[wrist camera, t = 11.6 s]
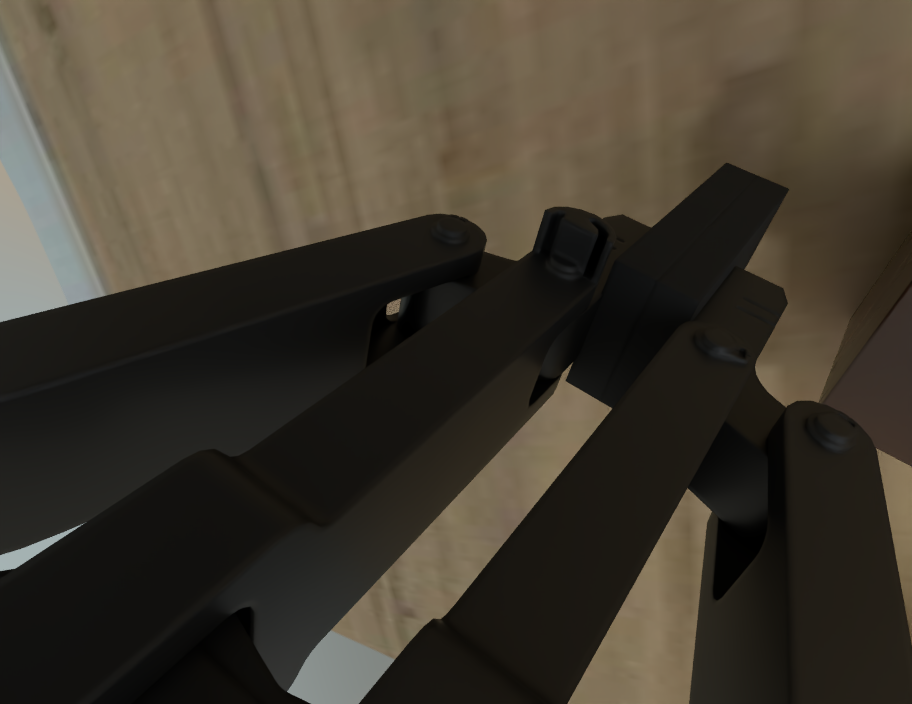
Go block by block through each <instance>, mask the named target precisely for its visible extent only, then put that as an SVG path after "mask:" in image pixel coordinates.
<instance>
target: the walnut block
mask: <svg viewBox="0 0 912 704" xmlns="http://www.w3.org/2000/svg"><path fill="white" fill-rule="evenodd" d="M818 403H821V404H825V405H828V406H830V407H832V408H834V409H836V410H839V411H841V412H843V413H845V414H846V415H848V416H849V417H850V418H852V419H853V420H854V421H856V422H857V423H858V424H859V425H860V426H861V427H862V428H863V429H864V431H865V432H866V433H867V434H868V435H869V436H870V437H871V439H872V441H873V444H874V446H875V448H877V449H879V450H881V451H883V452H885V453H887V454H889V455H891V456H893V457H895V458H896V459H898V460H900V461H902V462H904V463H906V464H908V465H910V466H912V231H911V232H910V234H909V235H908V237H907V238H906V240H905V241H904V243H903V244H902V245H901V247H900V248H899V250H898V251H897V253H896V254H895V256H894V257H893V258H892V260H891V261H890V263H889V264H888V266H887V267H886V269H885V270H884V272H883V273H882V274H881V276H880V277H879V279H878V280H877V282H876V283H875V285H874V286H873V287H872V289H871V290H870V292H869V293H868V295H867V296H866V298H865V299H864V300H863V302H862V303H861V305H860V306H859V308H858V309H857V311H856V312H855V313H854V315H853V316H852V318H851V319H850V321H849V324H848V327H847V329H846V332H845V334H844V337H843V340H842V342H841V345H840V348H839V350H838V353H837V355H836V358H835V361H834V363H833V366H832V368H831V371H830V374H829V376H828V379H827V381H826V384H825V387H824V389H823V392H822V395H821V397H820V400H819V402H818Z"/></svg>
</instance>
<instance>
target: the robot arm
mask: <svg viewBox="0 0 912 704" xmlns="http://www.w3.org/2000/svg"><path fill="white" fill-rule="evenodd" d="M788 190H789V189H788V188H786V187H783V186H781V185H779V184H776V183H774V182H772V181H769V180H767V179H764V178H762V177H760V176H757V175H755V174H753V173H750V172H748V171H745V170H743V169H741V168H738V167H736V166H733V165H731V164H729V163H726V164H725V165H723V166H722V167H721V168H720V169H719V170H718V171H716V172H715V173H714V174H713V175H712V176H711V177H710V178H708V179H707V180H706V181H705V182H704V183H703V184H702V185H700V186H699V187H698V188H697V189H696V190H695V191H694V192H692V193H691V194H690V195H689V196H688V197H687V198H686V199H684V200H683V201H682V202H681V203H680V204H679V205H677V206H676V207H675V208H674V209H673V210H672V211H671V212H669V213H668V214H667V215H666V216H665V217H664V218H663V219H661V220H660V221H659V222H658V223H657V224H656V225H655V226H653V227H652V228H650V227H648V226H646V225H644V224H642V223H640V222H638V221H635V220H633V219H631V218H629V217H627V216H625V215H623V214H622V215H617V216H611V217H605V218H603V219H601V218H600V217H598V216H596V215H595V214H592V213H589V212H587V211H584V210H581V209H576V208H571V207H553V208H550V209H547V210H545V212H544V215H543V218H542V222H541V225H540V228H539V231H538V234H537V238H536V241H535V244H534V247H533V250H532V251H531V252H530V253H529V254H527V255H526V256H524V257H523V258H521V259H520V260H519V261H514V260H510V259H506V258H503V257H499V256H496V255H493V254H490V253H487V252H484V250H485V246H486V242H487V239H486V236H485V233H484V232H483V231H482V230H481V229H480V228H479V227H478V226H477V225H476V224H474V223H472V222H470V221H468V220H467V219H465V218H463V217H459V216H457V215H452V214H451V215H446V214H432V215H426V216H422V217H418V218H414V219H410V220H406V221H402V222H398V223H394V224H390V225H386V226H382V227H378V228H374V229H370V230H366V231H362V232H358V233H354V234H350V235H346V236H342V237H338V238H334V239H330V240H326V241H322V242H318V243H314V244H310V245H306V246H302V247H298V248H294V249H290V250H286V251H282V252H278V253H274V254H270V255H266V256H262V257H258V258H254V259H250V260H246V261H242V262H238V263H234V264H230V265H226V266H222V267H219V268H215V269H211V270H207V271H203V272H199V273H195V274H191V275H187V276H183V277H179V278H175V279H171V280H167V281H163V282H159V283H155V284H151V285H147V286H143V287H139V288H135V289H131V290H127V291H123V292H119V293H115V294H111V295H107V296H103V297H99V298H95V299H91V300H87V301H83V302H79V303H75V304H71V305H67V306H63V307H59V308H55V309H51V310H47V311H43V312H39V313H35V314H31V315H28V316H24V317H20V318H15V319H11V320H8V321H3V322H0V555H2V554H5V553H8V552H12V551H15V550H18V549H21V548H24V547H26V546H29V545H32V544H34V543H37V542H39V541H42V540H44V539H47V538H50V537H52V536H55V535H57V534H60V533H62V532H65V531H67V530H69V529H72V528H74V527H76V526H78V525H80V524H83V523H84V524H83V525H81V526H80V527H78V528H77V529H76V530H74V531H72V532H71V533H69V534H68V535H66V536H65V537H63V538H62V539H60V540H59V541H57V542H55V543H54V544H52V545H51V546H49V547H48V548H46V549H45V550H43V551H42V552H40V553H39V554H37V555H36V556H34V557H33V558H31V559H30V560H28V561H27V562H25V563H24V564H22V565H20V566H19V567H17V568H16V569H11V570H5V571H0V704H310V703H308V702H306V701H304V700H302V699H300V698H298V697H296V696H293V695H291V694H290V693H288V692H287V691H288V689H289V688H290V686H291V685H292V683H293V682H294V680H295V678H296V677H297V675H298V673H299V671H300V669H301V667H302V666H303V664H304V662H305V660H306V659H307V657H308V656H309V654H310V653H311V652H312V650H313V649H314V648H315V647H316V645H317V644H318V643H319V642H320V641H321V640H322V639H323V638H324V637H325V636H326V635H327V633H328V632H329V631H330V630H331V629H332V628H333V627H334V626H335V625H336V624H337V623H338V622H339V621H340V620H341V619H342V618H343V616H344V615H345V614H346V613H347V612H348V611H349V610H350V609H351V608H352V607H353V606H354V605H355V604H356V603H357V602H358V601H359V600H360V598H361V597H362V596H363V595H364V594H365V593H366V592H367V591H368V590H369V589H370V588H371V587H372V586H373V585H374V584H375V583H376V581H377V580H378V579H379V578H380V577H381V576H382V575H383V574H384V573H385V572H386V571H387V570H388V569H389V568H390V567H391V566H392V565H393V563H394V562H395V561H396V560H397V559H398V558H399V557H400V556H401V555H402V554H403V553H404V552H405V551H406V550H407V549H408V548H409V546H410V545H411V544H412V543H413V542H414V541H415V540H416V539H417V538H418V537H419V536H420V535H421V534H422V533H423V532H424V531H425V529H426V528H427V527H428V526H429V525H430V524H431V523H432V522H433V521H434V520H435V519H436V518H437V517H438V516H439V515H440V514H441V513H442V511H443V510H444V509H445V508H446V507H447V506H448V505H449V504H450V503H451V502H452V501H453V500H454V499H455V498H456V497H457V496H458V494H459V493H460V492H461V491H462V490H463V489H464V488H465V487H466V486H467V485H468V484H469V483H470V482H471V481H472V480H473V479H474V477H475V476H476V475H477V474H478V473H479V472H480V471H481V470H482V469H483V468H484V467H485V466H486V465H487V464H488V463H489V462H490V461H491V459H492V458H493V457H494V456H495V455H496V454H497V453H498V452H499V451H500V450H501V449H502V448H503V447H504V446H505V445H506V444H507V442H508V441H509V440H510V439H511V438H512V437H513V436H514V435H515V434H516V433H517V432H518V431H519V430H520V429H521V428H522V427H523V425H524V424H525V423H526V422H527V421H528V420H529V419H530V418H531V417H532V416H533V415H534V414H535V413H536V412H537V411H538V410H539V409H540V407H541V406H542V405H543V404H544V403H545V402H546V401H547V400H548V399H549V398H550V397H551V396H552V395H553V393H554V391H555V389H556V387H557V385H558V382H559V380H560V377H561V375H562V373H563V372H564V371H565V370H566V369H567V368H568V367H569V365H570V364H571V363H572V362H573V361H574V362H573V364H572V366H571V369H570V371H569V374H568V376H567V379H566V381H567V382H568V383H570V384H572V385H573V386H575V387H577V388H579V389H580V390H582V391H584V392H585V393H587V394H589V395H591V396H592V397H594V398H596V399H597V400H599V401H601V402H602V403H604V404H606V405H608V406H609V407H611V408H613V409H612V410H611V411H610V412H609V414H608V415H607V416H606V417H605V419H604V420H603V421H602V422H601V424H600V425H599V426H598V427H597V429H596V430H595V431H594V432H593V434H592V435H591V436H590V437H589V439H588V440H587V441H586V442H585V443H584V445H583V446H582V447H581V448H580V450H579V451H578V452H577V453H576V455H575V456H574V457H573V458H572V460H571V461H570V462H569V463H568V465H567V466H566V467H565V468H564V470H563V471H562V472H561V473H560V475H559V476H558V477H557V478H556V479H555V481H554V482H553V483H552V484H551V486H550V487H549V488H548V489H547V491H546V492H545V493H544V494H543V496H542V497H541V498H540V499H539V501H538V502H537V503H536V504H535V506H534V507H533V508H532V509H531V511H530V512H529V513H528V514H527V516H526V517H525V518H524V519H523V520H522V522H521V523H520V524H519V525H518V527H517V528H516V529H515V530H514V532H513V533H512V534H511V535H510V537H509V538H508V539H507V540H506V542H505V543H504V544H503V545H502V547H501V548H500V549H499V550H498V552H497V553H496V554H495V555H494V557H493V558H492V559H491V560H490V561H489V563H488V564H487V565H486V566H485V568H484V569H483V570H482V571H481V573H480V574H479V575H478V576H477V578H476V579H475V580H474V581H473V583H472V584H471V585H470V586H469V588H468V589H467V590H466V591H465V593H464V594H463V595H462V596H461V598H460V599H459V600H458V601H457V602H456V604H455V605H454V606H453V607H452V608H451V610H450V611H449V612H448V613H447V614H446V615H445V616H444V617H443V618H441V619H432V620H431V621H430V622H429V623H427V624H426V625H425V626H424V627H423V628H422V629H421V630H420V631H419V632H418V633H417V635H416V636H415V637H414V638H413V639H412V640H411V641H410V642H409V644H408V645H407V646H406V647H405V648H404V650H403V651H402V652H401V653H400V654H399V656H398V657H397V658H396V659H395V661H394V662H393V663H392V664H391V665H390V667H389V668H388V669H387V670H386V671H385V673H384V674H383V675H382V676H381V678H380V679H379V680H378V681H377V682H376V684H375V685H374V686H373V687H372V688H371V690H370V691H369V692H368V693H367V695H366V696H365V697H364V698H363V699H362V700H361V702H360V703H359V704H567V703H568V701H569V700H570V698H571V696H572V694H573V692H574V691H575V689H576V687H577V685H578V683H579V682H580V680H581V678H582V676H583V674H584V673H585V671H586V669H587V667H588V665H589V664H590V662H591V660H592V658H593V656H594V655H595V653H596V651H597V649H598V647H599V646H600V644H601V642H602V640H603V638H604V637H605V635H606V633H607V631H608V630H609V628H610V626H611V624H612V622H613V621H614V619H615V617H616V615H617V613H618V612H619V610H620V608H621V606H622V604H623V603H624V601H625V599H626V597H627V595H628V594H629V592H630V590H631V588H632V586H633V585H634V583H635V581H636V579H637V577H638V576H639V574H640V572H641V570H642V568H643V567H644V565H645V563H646V561H647V560H648V558H649V556H650V554H651V552H652V551H653V549H654V547H655V545H656V543H657V542H658V540H659V538H660V536H661V534H662V533H663V531H664V529H665V527H666V525H667V524H668V522H669V520H670V518H671V516H672V515H673V513H674V511H675V509H676V507H677V506H678V504H679V502H680V500H681V498H682V497H683V495H684V493H685V491H686V490H687V488H688V489H689V490H690V491H691V492H693V493H694V494H695V495H696V496H697V497H698V498H699V499H700V500H701V501H702V502H703V503H704V504H705V505H706V506H707V507H708V508H709V509H710V510H711V511H712V513H711V515H710V517H709V520H708V522H707V529H706V539H705V549H704V560H703V570H702V580H701V590H700V600H699V610H698V620H697V630H696V640H695V651H694V661H693V671H692V681H691V691H690V701H689V704H912V644H911V638H910V633H909V627H908V622H907V616H906V611H905V605H904V600H903V594H902V589H901V583H900V578H899V572H898V566H897V561H896V555H895V550H894V544H893V539H892V533H891V528H890V522H889V517H888V511H887V505H886V500H885V494H884V489H883V483H882V478H881V472H880V467H879V461H878V456H877V450H876V448H875V446H874V444H873V441H872V439H871V437H870V436H869V435H868V434H867V433H866V432H865V431H864V429H863V428H862V427H861V426H860V425H859V424H858V423H857V422H856V421H854V420H853V419H852V418H850V417H849V416H848V415H846V414H845V413H843V412H841V411H839V410H836V409H834V408H832V407H830V406H828V405H825V404H821V403H817V402H814V401H796V402H794V403H792V404H790V405H788V406H787V408H786V407H785V406H784V405H782V404H781V403H780V402H778V401H777V400H776V399H775V398H774V397H773V396H772V395H771V394H769V393H768V392H767V390H766V389H765V388H764V387H763V386H762V384H761V383H760V381H759V379H758V377H757V375H756V371H755V364H756V360H757V358H758V357H759V355H760V353H761V351H762V349H763V348H764V346H765V344H766V342H767V340H768V339H769V337H770V335H771V333H772V331H773V330H774V328H775V326H776V324H777V322H778V321H779V319H780V317H781V315H782V313H783V312H784V310H785V308H786V306H787V304H788V302H787V299H786V295H785V292H784V289H783V288H782V287H780V286H777V285H775V284H773V283H771V282H769V281H767V280H765V279H763V278H761V277H758V276H756V275H754V274H752V273H750V272H748V271H746V270H744V269H745V268H746V266H747V264H748V262H749V260H750V259H751V257H752V255H753V253H754V251H755V250H756V248H757V246H758V244H759V242H760V241H761V239H762V237H763V235H764V233H765V232H766V230H767V228H768V226H769V224H770V223H771V221H772V219H773V217H774V215H775V214H776V212H777V210H778V208H779V207H780V205H781V203H782V201H783V199H784V198H785V196H786V194H787V192H788ZM400 298H401V303H400V308H399V312H397V313H395V314H392V315H386V308H387V304H388V303H390V302H392V301H394V300H397V299H400ZM85 522H86V523H85Z"/></svg>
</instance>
